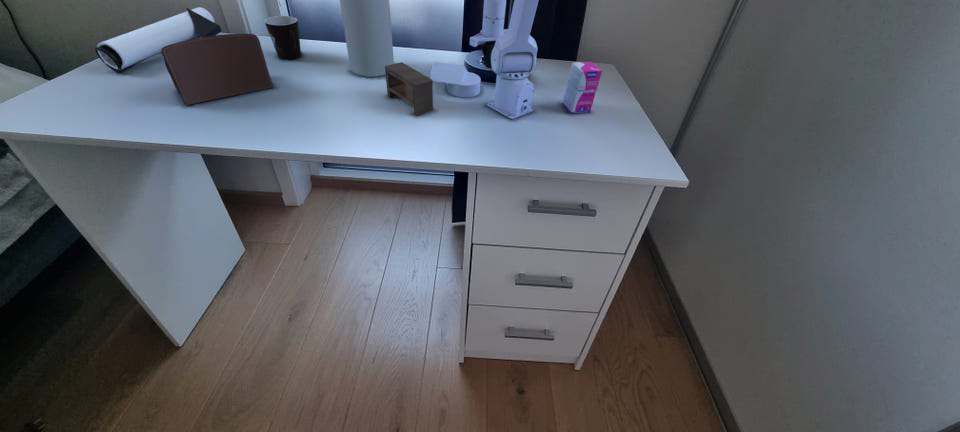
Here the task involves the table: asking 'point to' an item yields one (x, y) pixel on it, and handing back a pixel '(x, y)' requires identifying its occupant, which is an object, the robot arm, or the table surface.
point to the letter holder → (216, 67)
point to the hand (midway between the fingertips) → (489, 67)
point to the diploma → (155, 38)
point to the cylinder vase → (368, 36)
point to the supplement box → (581, 87)
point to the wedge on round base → (456, 79)
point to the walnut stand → (410, 87)
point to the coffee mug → (284, 36)
